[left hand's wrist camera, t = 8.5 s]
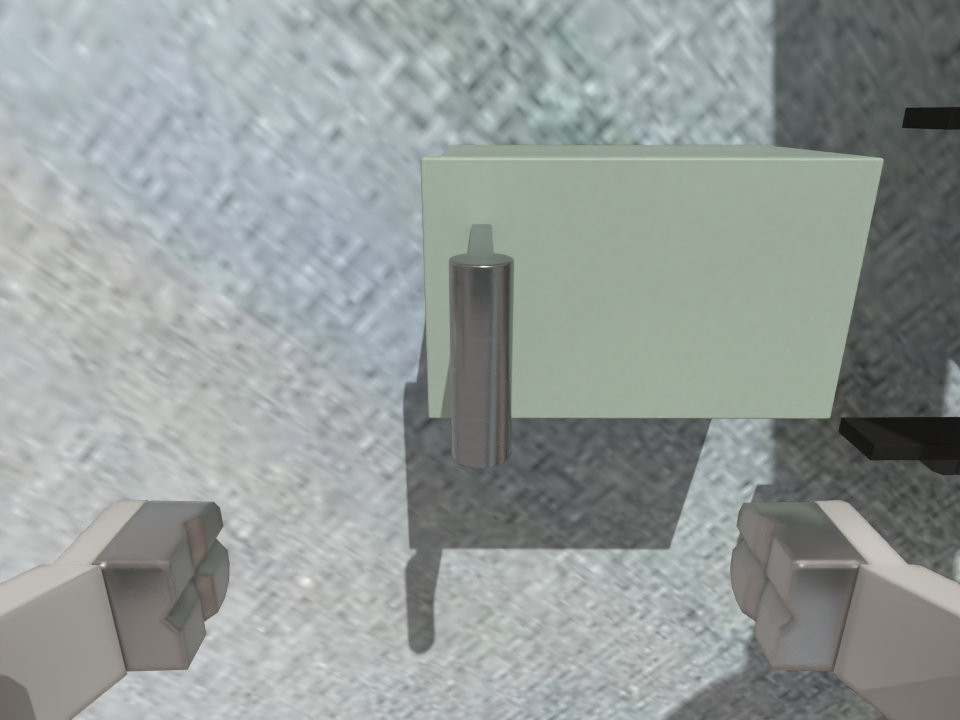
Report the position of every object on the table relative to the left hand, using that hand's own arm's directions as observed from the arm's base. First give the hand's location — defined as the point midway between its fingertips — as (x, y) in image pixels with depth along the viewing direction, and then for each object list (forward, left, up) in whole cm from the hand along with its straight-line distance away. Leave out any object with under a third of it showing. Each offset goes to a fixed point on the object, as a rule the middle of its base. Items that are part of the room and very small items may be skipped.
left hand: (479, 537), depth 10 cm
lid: (+5, -2, -15) cm, 16 cm away
